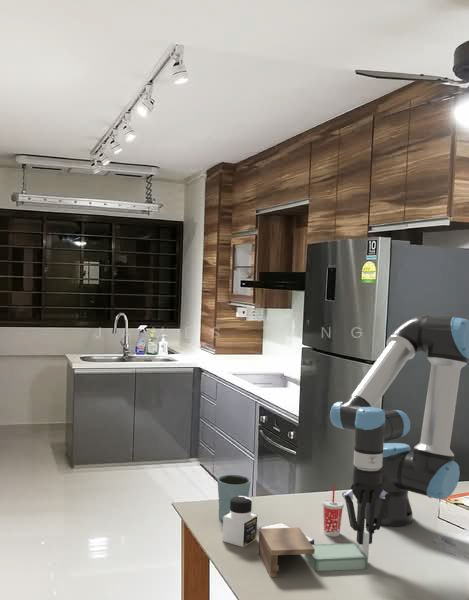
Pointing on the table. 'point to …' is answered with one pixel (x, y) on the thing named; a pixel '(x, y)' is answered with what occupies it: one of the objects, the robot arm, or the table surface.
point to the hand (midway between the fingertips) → (363, 555)
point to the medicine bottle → (240, 522)
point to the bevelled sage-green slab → (337, 557)
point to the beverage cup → (332, 516)
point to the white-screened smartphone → (281, 525)
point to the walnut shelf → (281, 546)
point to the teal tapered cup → (231, 491)
